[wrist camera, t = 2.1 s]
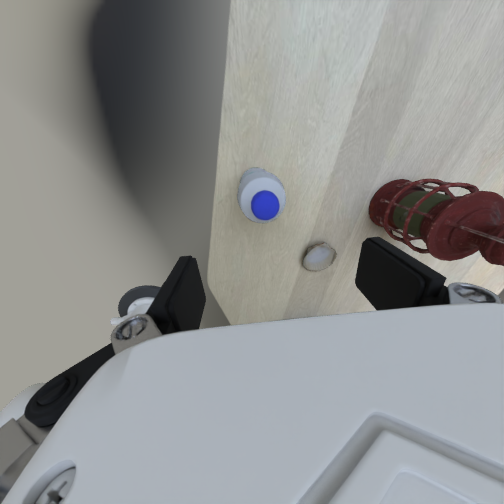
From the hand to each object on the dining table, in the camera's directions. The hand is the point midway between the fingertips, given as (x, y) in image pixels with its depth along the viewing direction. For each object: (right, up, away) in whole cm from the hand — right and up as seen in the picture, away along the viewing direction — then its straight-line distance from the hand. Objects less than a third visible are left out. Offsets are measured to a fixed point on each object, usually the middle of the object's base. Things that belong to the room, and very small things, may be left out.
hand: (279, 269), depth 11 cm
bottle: (-1, +15, +29) cm, 32 cm away
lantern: (+30, +12, +32) cm, 45 cm away
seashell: (+15, 0, +37) cm, 40 cm away
